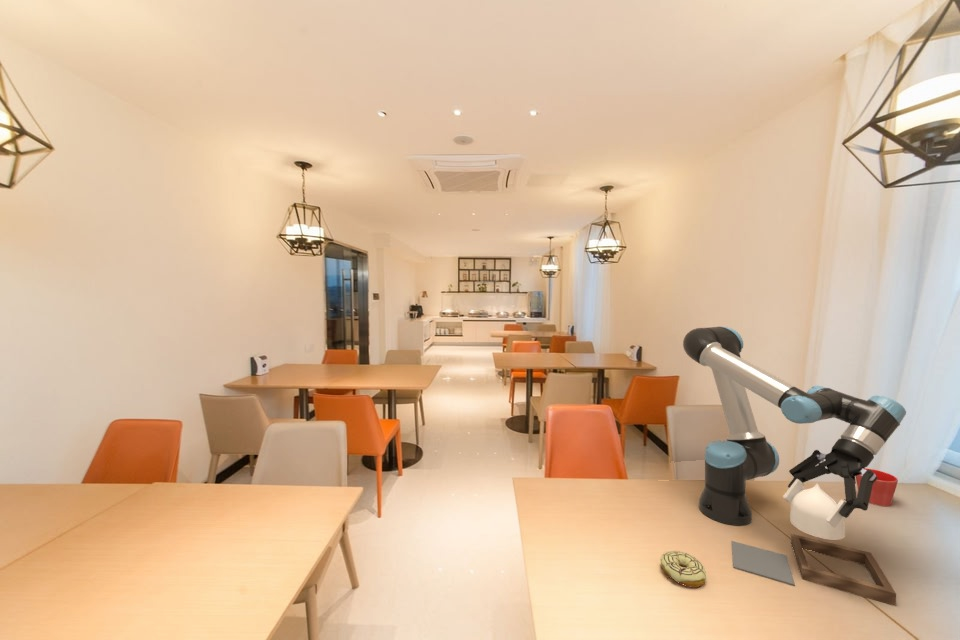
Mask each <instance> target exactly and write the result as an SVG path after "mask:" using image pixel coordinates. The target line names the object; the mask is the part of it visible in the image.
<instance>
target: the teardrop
mask: <svg viewBox="0 0 960 640" xmlns="http://www.w3.org/2000/svg"><path fill="white" fill-rule="evenodd" d="M837 504H838V503H837V502H836V500H834V499H833V498H832V497H831V496H830V495H829V494H827V492H825V490H823V489H822V488H821V487H820V485H819V483H818V482H817V483H816V484H815V485H814V486H813V487H810V488H807V489H802V490H801V491H800V492H799V493H798V494H797V495H795V497H794V498H793V500H792V502H791V504H790V513H789V520H790V523H791V524H792V525H793V526H794V528H796V529H798V530H799V531H801V532H802V533H805V534H807V535H810V536H813V537H816V538H818V539H819V538H820V539H824V540H829V541H830V540H833V541H839V540H842V539H844V538H845V537H846V525H845V517H843V518H842V519H841V521H840V522H839V523H838V524H837V526H836V527H835V528H834V527H833V526H831V525H830V524H829V523H828V522H827V521H826V519H827V517H828V516H829V515H830V513H831V512H832V511H833V510H834V508H835V507H836V506H837Z"/></svg>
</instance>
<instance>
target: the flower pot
mask: <svg viewBox="0 0 960 640" xmlns="http://www.w3.org/2000/svg"><path fill="white" fill-rule="evenodd" d="M865 470H871V471H872V472H873V473H874V474H875V475H876V476H877V477H878V478H877V480H876V481H875V482H874V483H873V486H872V491H871V495H870V500H869V504H871V505H876V506H880V507H890V506H891V505H892V501H893V498H894V495H895V491H896V489H897V486H898V481H899V479H898V477H896V476H895V475H893V474H890V473H888V472H885V471H882V470H878V469H873V468H867V467H865ZM861 478H862V474H860V475H857V476H855V480H856V487H857V491H858V490H859V486H860V482H861Z"/></svg>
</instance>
